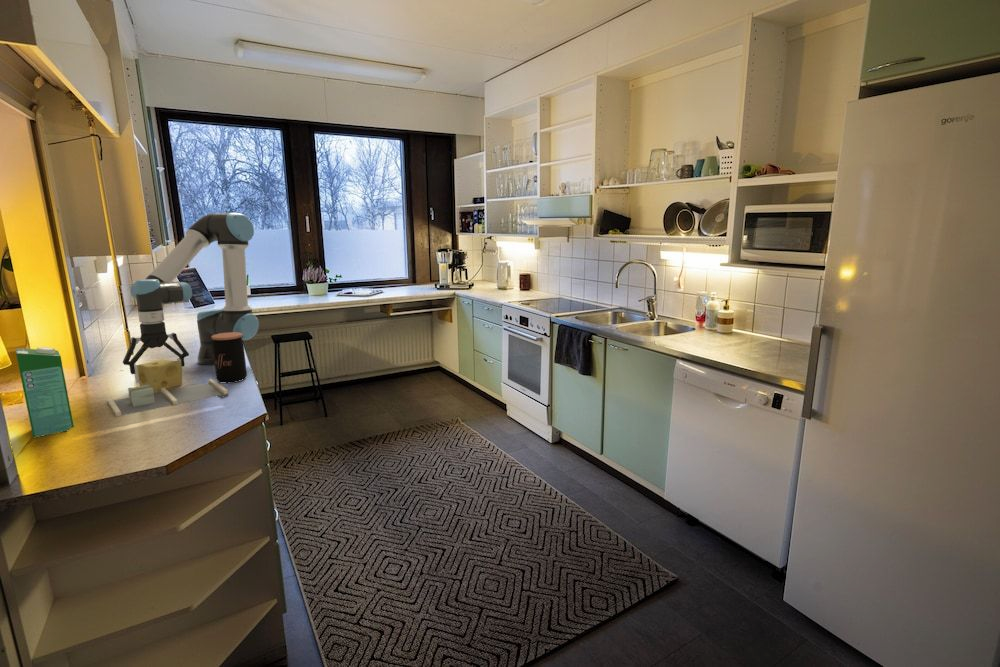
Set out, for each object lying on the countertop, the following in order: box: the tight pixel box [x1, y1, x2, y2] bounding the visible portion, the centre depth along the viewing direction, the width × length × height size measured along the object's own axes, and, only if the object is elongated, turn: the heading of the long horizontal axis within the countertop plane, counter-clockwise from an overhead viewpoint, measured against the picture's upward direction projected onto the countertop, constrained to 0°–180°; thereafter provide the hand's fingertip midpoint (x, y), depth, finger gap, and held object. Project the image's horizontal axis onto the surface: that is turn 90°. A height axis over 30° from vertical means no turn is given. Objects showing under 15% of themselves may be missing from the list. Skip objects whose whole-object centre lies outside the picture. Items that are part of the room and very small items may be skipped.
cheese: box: [136, 358, 183, 393], centre depth 188 cm, size 10×11×10 cm
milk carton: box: [14, 346, 75, 438], centre depth 148 cm, size 9×9×25 cm
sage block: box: [127, 385, 155, 407], centre depth 170 cm, size 6×6×5 cm
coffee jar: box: [211, 332, 248, 384], centre depth 198 cm, size 11×11×18 cm
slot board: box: [106, 378, 229, 417], centre depth 176 cm, size 19×32×2 cm, turn 134°
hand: (159, 378), depth 188 cm, fingers open, 13 cm apart
